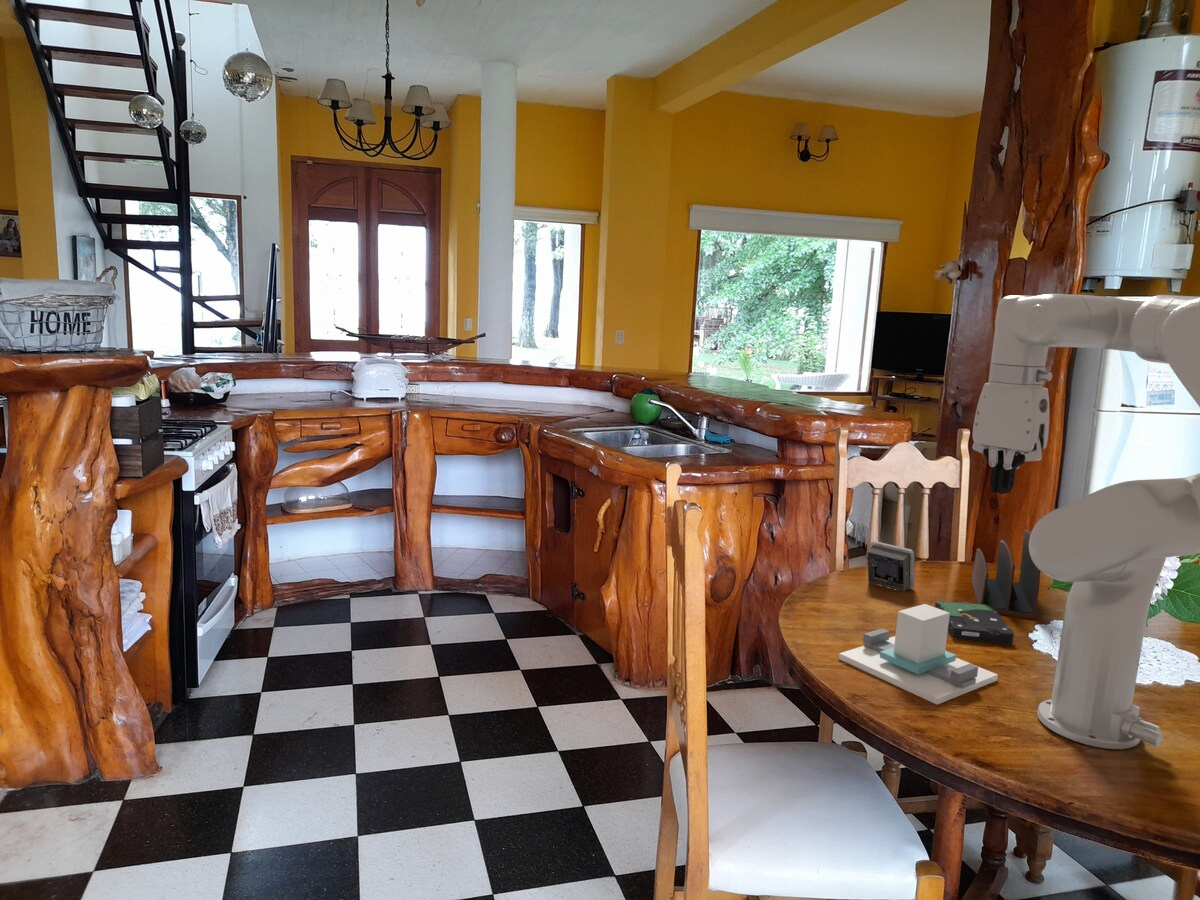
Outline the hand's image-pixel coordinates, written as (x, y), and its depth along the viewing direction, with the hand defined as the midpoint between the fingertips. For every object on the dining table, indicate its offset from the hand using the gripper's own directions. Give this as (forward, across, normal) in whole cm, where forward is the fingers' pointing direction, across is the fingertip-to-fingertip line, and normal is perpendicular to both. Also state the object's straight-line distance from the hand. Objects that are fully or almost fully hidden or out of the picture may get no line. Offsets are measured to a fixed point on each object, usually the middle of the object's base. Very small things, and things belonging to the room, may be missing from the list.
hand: (1000, 492), depth 131 cm
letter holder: (+30, +16, -35) cm, 48 cm away
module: (+26, +4, +11) cm, 29 cm away
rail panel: (+29, +4, +11) cm, 31 cm away
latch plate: (+27, +4, +11) cm, 30 cm away
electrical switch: (+29, +32, -20) cm, 48 cm away
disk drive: (+30, +10, -15) cm, 35 cm away
